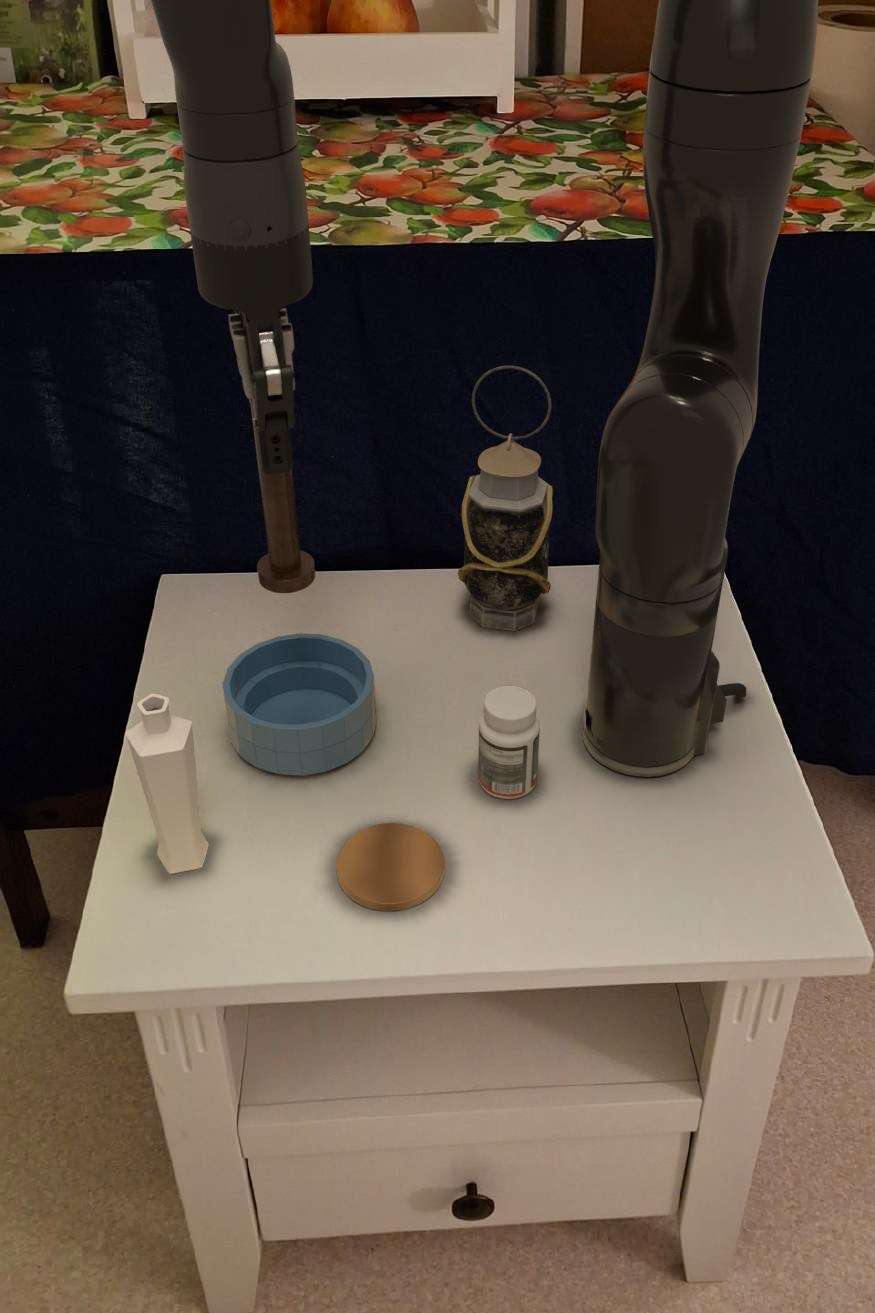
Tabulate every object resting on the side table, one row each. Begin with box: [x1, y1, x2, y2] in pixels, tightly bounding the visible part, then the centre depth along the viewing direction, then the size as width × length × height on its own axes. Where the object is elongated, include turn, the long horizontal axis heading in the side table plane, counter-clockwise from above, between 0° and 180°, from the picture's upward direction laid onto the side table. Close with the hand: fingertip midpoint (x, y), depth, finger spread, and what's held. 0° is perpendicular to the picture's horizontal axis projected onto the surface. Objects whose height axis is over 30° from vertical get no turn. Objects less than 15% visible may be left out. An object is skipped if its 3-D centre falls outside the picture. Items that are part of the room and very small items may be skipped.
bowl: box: [222, 632, 377, 776], centre depth 101 cm, size 12×12×6 cm
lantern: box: [457, 365, 554, 632], centre depth 108 cm, size 9×8×25 cm
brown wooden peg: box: [249, 398, 316, 594], centre depth 90 cm, size 4×4×15 cm
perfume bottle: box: [124, 693, 210, 874], centre depth 87 cm, size 5×4×15 cm
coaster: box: [335, 822, 446, 912], centre depth 90 cm, size 8×8×1 cm
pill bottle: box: [477, 685, 541, 800], centre depth 95 cm, size 5×5×8 cm
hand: (275, 459), depth 88 cm, fingers closed on brown wooden peg, 2 cm apart
